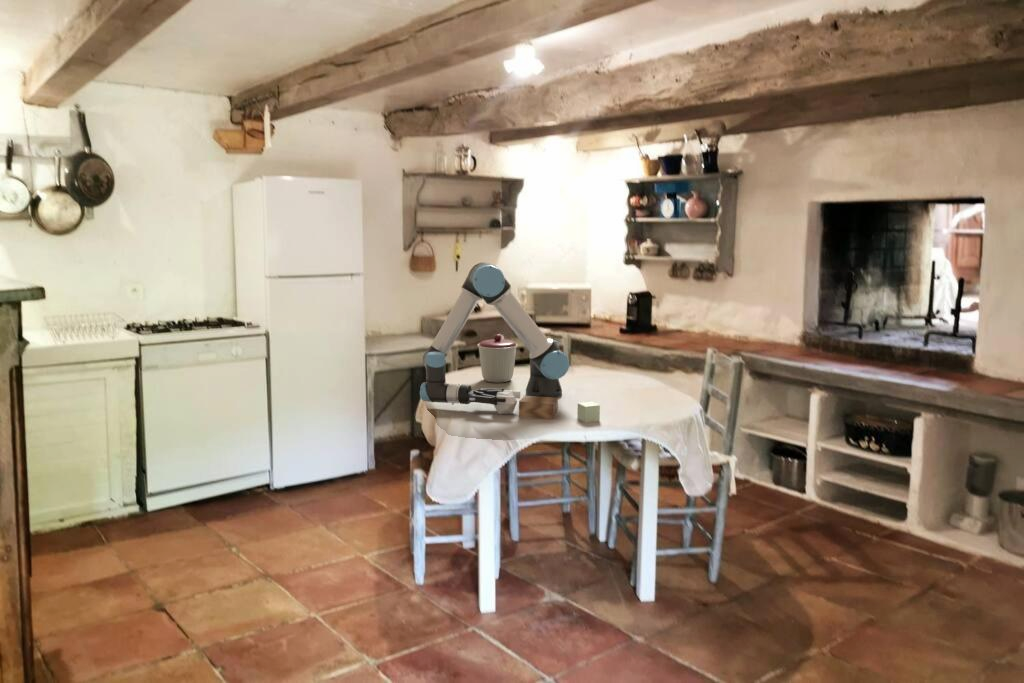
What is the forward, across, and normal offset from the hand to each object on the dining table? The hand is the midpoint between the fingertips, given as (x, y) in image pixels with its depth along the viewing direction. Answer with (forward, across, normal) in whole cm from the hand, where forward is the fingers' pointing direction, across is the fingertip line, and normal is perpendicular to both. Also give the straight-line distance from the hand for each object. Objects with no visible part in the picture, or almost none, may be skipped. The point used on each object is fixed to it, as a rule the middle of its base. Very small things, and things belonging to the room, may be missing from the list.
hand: (517, 397), depth 301 cm
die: (-5, 0, -6) cm, 8 cm away
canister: (-22, -53, -6) cm, 58 cm away
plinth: (+8, 0, -6) cm, 10 cm away
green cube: (+27, +2, -6) cm, 28 cm away
